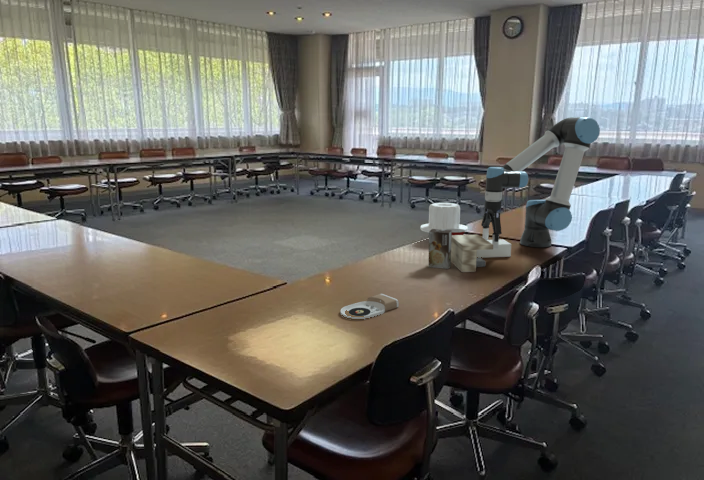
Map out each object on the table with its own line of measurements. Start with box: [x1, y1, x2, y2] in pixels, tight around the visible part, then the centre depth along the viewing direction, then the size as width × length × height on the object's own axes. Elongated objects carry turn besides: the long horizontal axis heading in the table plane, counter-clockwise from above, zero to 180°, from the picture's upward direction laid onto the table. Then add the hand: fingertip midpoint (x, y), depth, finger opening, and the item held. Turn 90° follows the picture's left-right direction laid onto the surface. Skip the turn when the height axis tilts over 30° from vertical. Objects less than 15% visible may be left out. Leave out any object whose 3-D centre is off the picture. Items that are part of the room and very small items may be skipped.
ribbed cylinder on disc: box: [419, 202, 469, 234], centre depth 271 cm, size 25×25×19 cm
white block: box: [476, 238, 512, 258], centre depth 241 cm, size 16×10×6 cm, turn 95°
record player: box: [340, 293, 400, 320], centre depth 171 cm, size 12×3×20 cm
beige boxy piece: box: [451, 234, 493, 273], centre depth 223 cm, size 13×20×12 cm, turn 5°
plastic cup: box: [443, 229, 466, 235], centre depth 243 cm, size 11×11×12 cm
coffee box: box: [428, 229, 452, 270], centre depth 221 cm, size 9×6×16 cm
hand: (489, 244), depth 240 cm, fingers open, 13 cm apart
